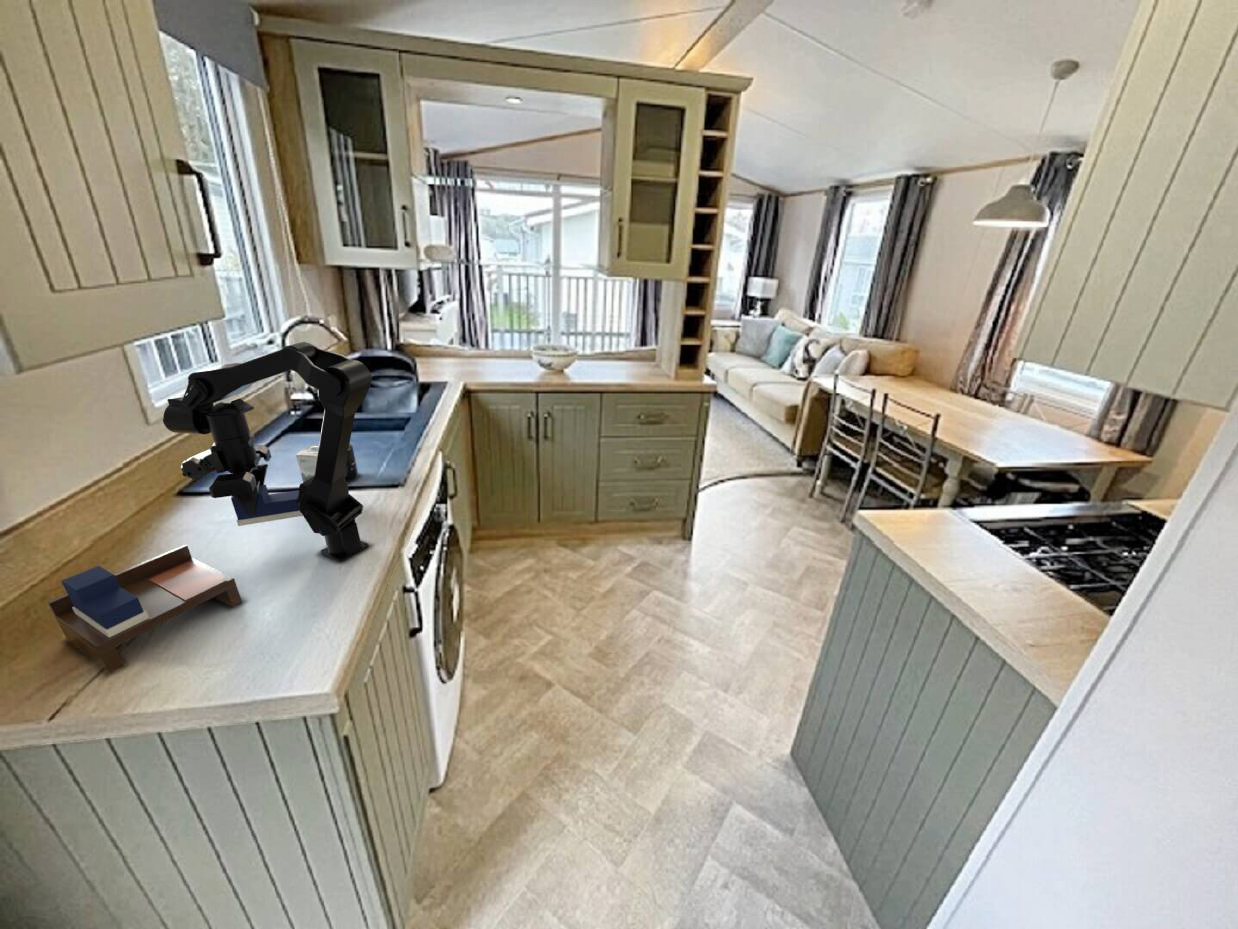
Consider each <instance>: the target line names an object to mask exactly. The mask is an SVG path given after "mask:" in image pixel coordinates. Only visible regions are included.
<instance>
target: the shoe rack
mask: <svg viewBox="0 0 1238 929" xmlns="http://www.w3.org/2000/svg"><path fill="white" fill-rule="evenodd" d="M113 574H114V575H115V577H116V580H117V582H118V584H119V586H120V587H121V588H122V589H124V590H126V591H127V592H129V593H131V594H132V595H134V596H135V597H137V598H138V600H139V602H140V604H141V606H142V609H143V610H144V611H146V612H147V614H148V616H149V618H148V619H146V620H144V621H142V622H140V623H138V624H136V625H134V626H132V627H130V628H128V629H126V630H124V631H122V632H120V633H118V634H116V635H114V636H112V637H110V638H109V637H107V636H106V635H105V634H103V633H102V632H100V631H99V630H98V629H96V628H95V627H93V626H92V625H90V624H89V623H88V622H86V621H85V620H83V619H82V618H81V617H79V616H78V615H76V614H75V612H74V610H73V608H72V607H74V605H73V604H72V602H71V600H70V598H69V596H68V594H67V593H65V594H63V595H60V596H58V597H56V598H53V599H51V600H49V601H46V603H47V604H48V607H49V608H50V610H51V612H52V614H53V615H54V617H55V620H56V622H57V623H58V625H59V627H60V629H61V631H62V632H63V635H64V636H65V639H66V640H67V642H69V643H70V644H71V645H73V646H74V647H75V648H77V649H78V650H79V651H81V652H82V653H83V654H84V655H86V656H87V657H88V658H90V659H91V660H92V661H93V662H95V663H96V664H97V665H99V666H100V667H101V668H103V669H104V670H105V671H107V672H108V673H109V674H111V673H113V672H115V671H117V670H120V669H121V668H123V667H124V663H123V662H122V660H121V659H122V658H121V657H120V655H119V653H118V651H117V649H116V647H118V646H120V645H122V644H124V643H126V642H128V641H130V640H132V639H134V638H136V637H138V636H140V635H142V634H143V633H146V632H148V631H149V630H151V629H153V628H156V627H158V626H159V625H161V624H163V623H165V622H167V621H170V620H171V619H173V618H175V617H177V616H179V615H181V614H184V613H185V612H188V611H189V610H191V609H193V608H195V607H197V606H199V605H201V604H203V603H205V602H207V601H209V600H211V599H216V600H217V601H219V602H221V603H223V604H225V605H227V606H229V607H230V608H234V607H236V606H238V605H240V604H242V603H243V600H242V597H241V594H240V592H239V589H238V586H237V583H236V580H235V578H234V577H233V576H230V575H228V574H226V573H224V572H222V571H220V570H218V569H216V568H214V567H212V566H210V565H208V564H206V563H205V562H202V561H200V560H198V559H196V558H194V557H193V556H192V554H191V551H190V549H189V547H188V545H187V544H183V545H181V546H179V547H176V548H173V549H171V550H169V551H166V552H164V553H161V554H159V555H156V556H154V557H152V558H149V559H147V560H145V561H142V562H139V563H137V564H136V565H133V566H132V565H131V566H130V567H128V568H125V569H123V570H121V571H118V572H116V573H113Z"/></svg>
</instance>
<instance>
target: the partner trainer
mask: <svg viewBox="0 0 1238 929" xmlns="http://www.w3.org/2000/svg"><path fill="white" fill-rule="evenodd" d="M114 574H115V573H112V572H110V571H108V570H107V569H105V568H104V567H102V566H100V565H97V566H95V567H92V568H88V569H86V570H84V571H82V572H79V573H77V574H74V575H72V576H70V577H66V578H64V579H62V580H61V581H60V582H61V585H62V586H63V588H64V590H65V592H66V594H68V596H69V598H70V600H71V602H72V604H73V605H74V607H72V608H73V610H74V612H75V614H76V615H78V616H79V617H81V618H82V619H83V620H85V621H86V622H88V623H89V624H90V625H92V626H93V627H95V628H96V629H98V630H99V631H100V632H102V633H103V634H105V635H106V636H107V637H109V638H110V637H112V636H114V635H116V634H118V633H120V632H122V631H124V630H126V629H128V628H130V627H132V626H134V625H136V624H138V623H140V622H142V621H144V620H146V619H148V618H149V616H148V614H147V612H146V611H144V610H143V609H142V606H141V604H140V602H139V600H138V598H137V597H135V596H134V595H132V594H131V593H129V592H127V591H126V590H124V589H122V588H121V587H120V586H119V584H118V582H117V580H116V577H115V575H114Z"/></svg>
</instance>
